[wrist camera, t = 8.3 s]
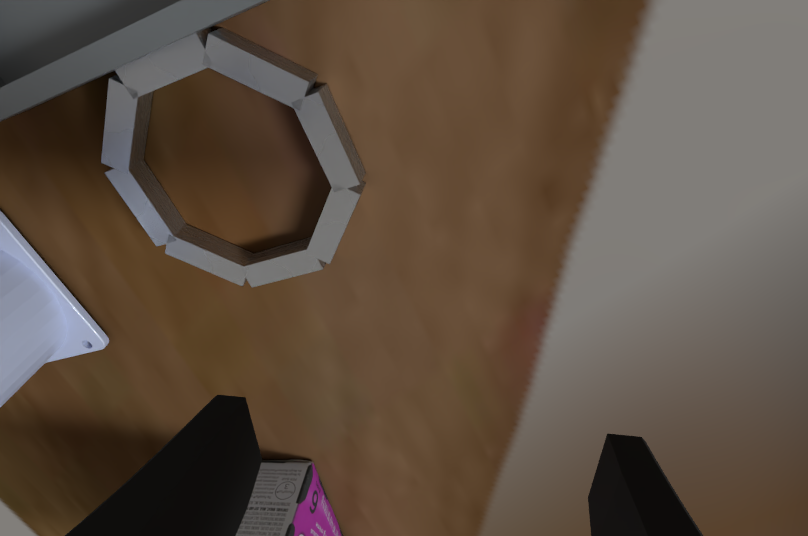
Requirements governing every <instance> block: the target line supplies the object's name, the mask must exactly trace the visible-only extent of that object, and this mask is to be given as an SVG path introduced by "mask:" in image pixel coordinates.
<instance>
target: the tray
mask: <svg viewBox="0 0 808 536" xmlns="http://www.w3.org/2000/svg"><path fill="white" fill-rule="evenodd" d="M267 1H269V0H0V122H1V121H3V120H6V119H8V118H10V117H13V116H15V115H18V114H20V113H22V112H25V111H27V110H29V109H31V108H33V107H36V106H38V105H40V104H42V103H44V102H47V101H49V100H51V99H53V98H55V97H58V96H60V95H62V94H64V93H66V92H69V91H71V90H73V89H75V88H77V87H80V86H82V85H84V84H86V83H88V82H91V81H93V80H95V79H97V78H100V77H102V76H104V75H106V74H108V73H111V72H113V71H115V69H117V68H120V67H122V66H124V65H126V64H128V63H131V62H133V61H135V60H137V59H139V58H142V57H144V56H146V55H148V54H150V53H153V52H155V51H157V50H159V49H161V48H164V47H166V46H168V45H170V44H172V43H175V42H177V41H179V40H181V39H183V38H186V37H188V36H190V35H192V34H194V33H197V32H199V31H202V30H204V29H207V28H209V27H212V26H214V25H216V24H218V23H221V22H223V21H225V20H227V19H229V18H232V17H234V16H236V15H238V14H240V13H243V12H245V11H247V10H249V9H251V8H254V7H256V6H258V5H260V4H262V3H265V2H267Z"/></svg>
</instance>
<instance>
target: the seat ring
mask: <svg viewBox="0 0 808 536" xmlns="http://www.w3.org/2000/svg"><path fill="white" fill-rule="evenodd" d="M208 67H209V68H211V69H213V70H215V71H217V72H219V73H221V74H223V75H225V76H227V77H229V78H232V79H234V80H236V81H238V82H240V83H242V84H244V85H246V86H248V87H250V88H252V89H255V90H257V91H259V92H261V93H263V94H265V95H267V96H269V97H271V98H273V99H275V100H278V101H280V102H282V103H284V104H286V105H288V106H290V107H292V108H294V110H295V112H296V114H297V116H298V118H299V120H300V122H301V124H302V126H303V129H304V131H305V133H306V135H307V137H308V139H309V141H310V143H311V145H312V147H313V149H314V151H315V153H316V156H317V158H318V160H319V162H320V164H321V166H322V168H323V170H324V172H325V174H326V176H327V178H328V180H329V183H330V185H331V187H332V188H331V191H330V193H329V196H328V198H327V201H326V203H325V206H324V208H323V211H322V213H321V216H320V218H319V221H318V223H317V226H316V228H315V231H314V233H313V236H312V237H309V238H306V239H302V240H299V241H295V242H292V243H288V244H284V245H281V246H277V247H274V248H270V249H267V250H263V251H259V252H256V253H251V252H249V251H247V250H245V249H242V248H240V247H238V246H235V245H233V244H231V243H229V242H226V241H224V240H222V239H219V238H217V237H215V236H213V235H210V234H208V233H206V232H203V231H201V230H199V229H197V228H194V227H192V226H190V225H188V224H186V223H185V221H184V220H183V218H182V217H181V215H180V214H179V212H178V211H177V209H176V208H175V206H174V205H173V203H172V202H171V200H170V199H169V197H168V196H167V194H166V193H165V191H164V190H163V188H162V187H161V185H160V184H159V182H158V181H157V179H156V177H155V176H154V174H153V173H152V171H151V170H150V168H149V167H148V165H147V164H146V162H145V161H144V152H145V145H146V139H147V132H148V125H149V118H150V111H151V105H152V98H153V91H154V90H156V89H159V88H161V87H163V86H166V85H168V84H170V83H173V82H175V81H177V80H180V79H182V78H184V77H187V76H189V75H192V74H194V73H196V72H199V71H201V70H203V69H206V68H208ZM115 71H116V73H117V75H115V76H113V77H111V78H109V83H108V94H107V105H106V115H105V126H104V137H103V147H102V158H101V163H103V164H106V165H108V166H110V167H112V168H111V169H109V170H108V171H106V172H105V174H106V176H107V177H108V179H109V180H110V181H111V183H112V184H113V186H114V187H115V188H116V190H117V191H118V193H119V194H120V195H121V197H122V198H123V200H124V201H125V202H126V204H127V205H128V207H129V208H130V210H131V211H132V212H133V214H134V215H135V217H136V218H137V219H138V221H139V222H140V224H141V225H142V226H143V228H144V229H145V231H146V232H147V234H148V235H149V236H150V238H151V239H152V241H153V242H154V243H155V245H156V246H160V245H163V244H167V245H166V250H165V253H166V254H168V255H170V256H173V257H175V258H177V259H180V260H182V261H184V262H187V263H189V264H191V265H194V266H196V267H198V268H201V269H203V270H205V271H208V272H210V273H212V274H215V275H217V276H219V277H222V278H224V279H226V280H229V281H231V282H233V283H236V284H238V285H240V286H243V285H244V284H245V282H246V281H247V280H248V282H249V284H250V285H251V287H256V286H260V285H264V284H267V283H271V282H275V281H279V280H283V279H287V278H291V277H295V276H299V275H303V274H307V273H310V272H314V271H318V270H322V269H323V268H324V266H325V264H326V263H328V264H330V262H331V260H332V258H333V256H334V254H335V252H336V249H337V247H338V245H339V243H340V240H341V238H342V236H343V234H344V231H345V229H346V227H347V225H348V222H349V220H350V218H351V216H352V213H353V211H354V209H355V206H356V204H357V202H358V200H359V197H360V195H361V193H362V191H363V188H364V186H365V184H366V183H365V182H363V181H362V179H363V177H364V175H365V173H366V172H365V170H364V168H363V165H362V163H361V161H360V159H359V156H358V154H357V152H356V150H355V147H354V145H353V143H352V140H351V138H350V136H349V134H348V131H347V129H346V127H345V125H344V122H343V120H342V118H341V115H340V113H339V111H338V109H337V106H336V104H335V102H334V100H333V97H332V95H331V93H330V90H329V88H328V86H327V84H325V85H322V86H319V87H317V88H314V89H313V87H314V84H315V81H316V78H317V75H318V74H316V73H314V72H312V71H310V70H308V69H306V68H304V67H302V66H300V65H298V64H296V63H294V62H291V61H289V60H287V59H285V58H283V57H281V56H279V55H277V54H275V53H273V52H271V51H269V50H267V49H265V48H263V47H261V46H259V45H257V44H255V43H253V42H251V41H249V40H247V39H245V38H242V37H240V36H238V35H236V34H234V33H232V32H230V31H228V30H226V29H224V28H220V29H218V30H215V31H212V29H211V27H209V28H207V29H204V30H202V31H199V32H197V33H194V34H192V35H190V36H188V37H186V38H183V39H181V40H179V41H177V42H175V43H172V44H170V45H168V46H166V47H164V48H161V49H159V50H157V51H155V52H153V53H150V54H148V55H146V56H144V57H142V58H139V59H137V60H135V61H133V62H131V63H128V64H126V65H124V66H122V67H120V68H117V69H115Z"/></svg>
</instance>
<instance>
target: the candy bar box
mask: <svg viewBox="0 0 808 536" xmlns="http://www.w3.org/2000/svg"><path fill="white" fill-rule="evenodd" d="M236 536H343V534H342V532H341V530H340V527H339V525H338V522H337V520H336V517H335V515H334V513H333V510H332V508H331V505H330V503H329V500H328V498H327V495H326V493H325V491H324V488H323V486H322V483H321V481H320V478H319V476H318V473H317V471H316V468H315V466H314V463H313V462H312V461H307V460H294V459H292V460H262V462H261V466H260V469H259V472H258V476H257V479H256V482H255V486H254V489H253V492H252V495H251V498H250V501H249V504H248V507H247V510H246V512H245V515H244V517H243V519H242V522H241V524H240V526H239V529H238V531H237V533H236Z"/></svg>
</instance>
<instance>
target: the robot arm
mask: <svg viewBox="0 0 808 536" xmlns="http://www.w3.org/2000/svg"><path fill="white" fill-rule="evenodd" d="M108 343H109V339H108V337H107V335H106V334H105V333H104V332H103V330H102V329H101V328H100V327H99V326H98V325H97V323H96V322H95V321H94V320H93V319H92V318H91V316H90V315H89V314H88V313H87V312H86V310H85V309H84V308H83V307H82V306H81V305H80V303H79V302H78V301H77V300H76V299H75V297H74V296H73V295H72V294H71V293H70V292H69V290H68V289H67V288H66V287H65V286H64V285H63V283H62V282H61V281H60V280H59V279H58V277H57V276H56V275H55V274H54V273H53V272H52V270H51V269H50V268H49V267H48V266H47V264H46V263H45V262H44V261H43V260H42V259H41V257H40V256H39V255H38V254H37V253H36V252H35V250H34V249H33V248H32V247H31V246H30V244H29V243H28V242H27V241H26V240H25V239H24V237H23V236H22V235H21V234H20V233H19V231H18V230H17V229H16V228H15V227H14V226H13V224H12V223H11V222H10V221H9V220H8V219H7V217H6V216H5V215H4V214H3V213H2V212H1V211H0V407H1V406H2V405H3V404H4V403H5V402H6V401H7V400H8V399H9V398H10V397H11V396H12V395H13V394H14V393H15V392H16V391H17V390H18V389H19V388H20V387H21V386H22V385H23V384H24V383H25V382H26V381H27V380H28V379H29V378H30V377H31V376H32V375H33V374H34V373H35V372H36V371H37V370H38V369H39V368H40V367H41V366H42V365H43V364H45V363H47V362H51V361H55V360H59V359H64V358H68V357H72V356H76V355H80V354H85V353H89V352H93V351H97V350H102V349H104V348H105V347H106V346H107V345H108ZM261 462H262V457H261V454H260V450H259V446H258V442H257V439H256V435H255V431H254V428H253V424H252V420H251V417H250V413H249V409H248V405H247V402H246V398H245V397H235V396H225V395H217V396H216V397H214V398H213V399H212V400H211V401H210V402H209V403H208V404H207V405H206V406H205V407H204V408H203V409H202V410H201V411H200V412H199V413H198V414H197V415H196V416H195V417H194V418H193V419H192V420H191V421H190V422H189V423H188V424H187V425H186V426H185V427H184V428H183V429H182V430H181V431H180V432H179V433H177V434H176V435H175V436H174V437H173V438H172V439H171V440H170V441H169V442H168V443H167V444H166V445H165V446H164V447H163V448H162V449H161V450H160V451H159V452H158V453H157V454H156V455H155V456H154V457H153V458H152V459H150V460H149V461H148V462H147V463H146V464H145V465H144V466H143V467H142V468H141V469H140V470H139V471H138V472H137V473H136V474H134V475H133V476H132V477H131V478H130V479H129V480H128V481H127V482H126V483H125V484H124V485H123V486H122V487H120V488H119V489H118V490H117V491H116V492H115V493H114V494H113V495H111V496H110V497H109V498H108V499H107V500H106V501H105V502H103V503H102V504H101V505H100V506H99V507H98V508H97V509H95V510H94V511H93V512H92V513H91V514H90V515H89V516H87V517H86V518H85V519H84V520H83V521H82V522H80V523H79V524H78V525H77V526H76V527H75V528H73V529H72V530H71V531H70V532H69V533H67V534H66V535H65V536H236V533H237V531H238V529H239V526H240V524H241V522H242V519H243V517H244V515H245V512H246V510H247V507H248V504H249V501H250V498H251V495H252V492H253V489H254V486H255V482H256V479H257V476H258V472H259V469H260V466H261ZM588 502H589V514H590V526H591V536H703V535H702V533H701V532H700V530H699V529H698V527H697V525H696V524H695V522H694V521H693V519H692V518H691V516H690V515H689V513H688V512H687V510H686V508H685V507H684V505H683V504H682V502H681V500H680V499H679V497H678V496H677V494H676V492H675V491H674V489H673V488H672V486H671V484H670V482H669V481H668V479H667V477H666V476H665V474H664V473H663V471H662V469H661V467H660V466H659V464H658V462H657V461H656V459H655V457H654V455H653V454H652V452H651V450H650V448H649V447H648V445H647V443H646V442H645V441H644V439H643V438H642V437H636V436H625V435H616V434H607V437H606V440H605V443H604V447H603V450H602V453H601V456H600V460H599V463H598V466H597V470H596V473H595V476H594V480H593V483H592V487H591V489H590V493H589V496H588Z"/></svg>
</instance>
